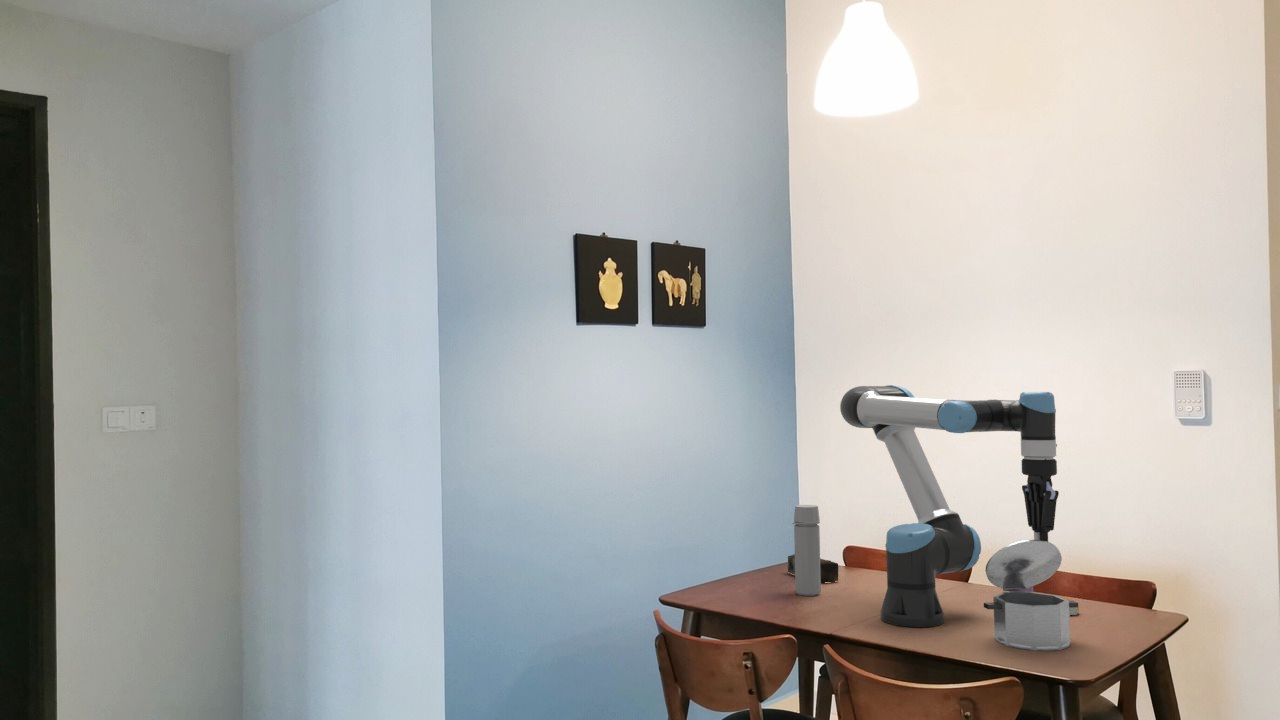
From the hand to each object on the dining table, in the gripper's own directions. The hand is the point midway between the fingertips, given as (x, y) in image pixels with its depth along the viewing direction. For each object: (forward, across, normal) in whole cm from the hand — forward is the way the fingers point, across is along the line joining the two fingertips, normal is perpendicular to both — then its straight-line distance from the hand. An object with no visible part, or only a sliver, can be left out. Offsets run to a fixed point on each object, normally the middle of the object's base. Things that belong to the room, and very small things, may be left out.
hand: (1041, 559), depth 211 cm
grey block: (+19, +23, -16) cm, 33 cm away
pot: (+18, -4, +5) cm, 19 cm away
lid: (+2, -1, +5) cm, 5 cm away
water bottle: (+19, +52, +43) cm, 71 cm away
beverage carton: (+19, +75, +36) cm, 85 cm away
